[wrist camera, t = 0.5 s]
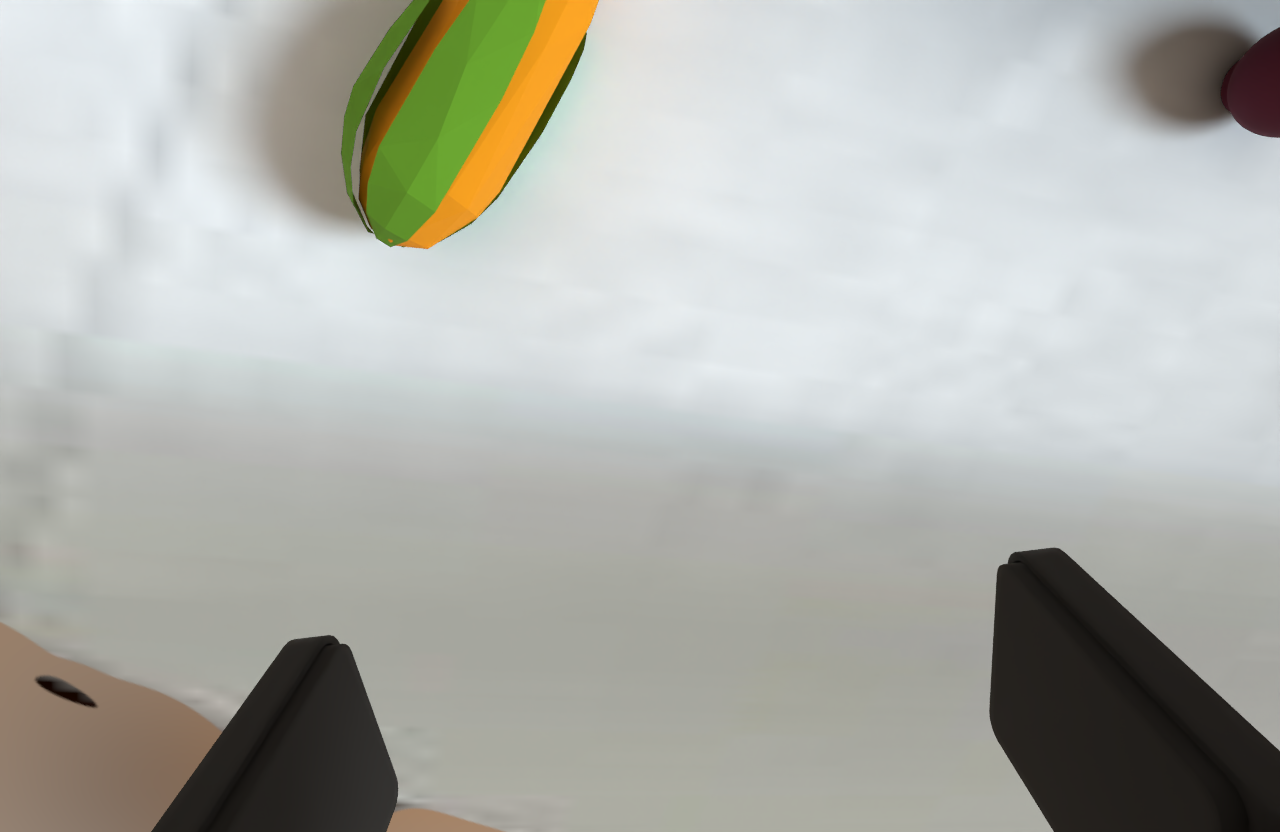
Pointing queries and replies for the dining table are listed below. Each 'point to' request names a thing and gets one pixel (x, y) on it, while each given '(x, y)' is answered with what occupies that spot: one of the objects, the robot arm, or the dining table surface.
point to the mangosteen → (1256, 87)
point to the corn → (457, 109)
